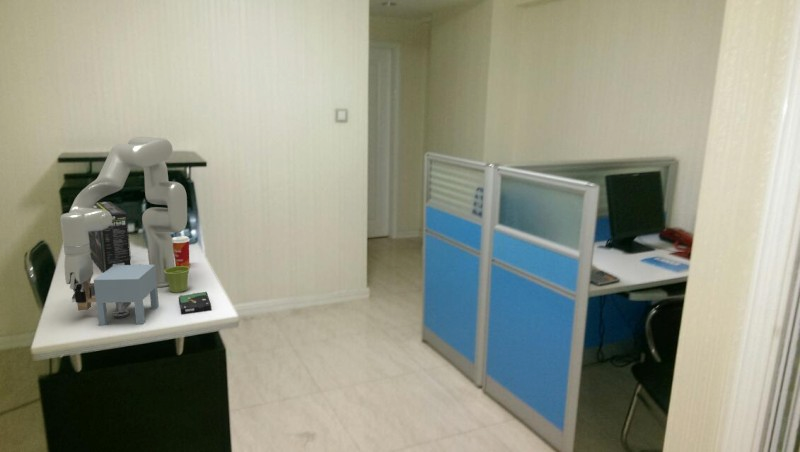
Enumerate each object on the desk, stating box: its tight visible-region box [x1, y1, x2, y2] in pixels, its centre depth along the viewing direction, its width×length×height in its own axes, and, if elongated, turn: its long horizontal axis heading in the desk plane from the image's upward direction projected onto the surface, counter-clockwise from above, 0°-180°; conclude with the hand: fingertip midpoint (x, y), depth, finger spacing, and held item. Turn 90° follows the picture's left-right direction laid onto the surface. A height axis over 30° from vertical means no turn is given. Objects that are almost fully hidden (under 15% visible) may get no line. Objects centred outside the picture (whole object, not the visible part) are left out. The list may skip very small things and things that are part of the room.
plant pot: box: [164, 266, 190, 294], centre depth 207 cm, size 9×9×9 cm
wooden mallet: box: [76, 280, 132, 312], centre depth 180 cm, size 8×15×10 cm, turn 96°
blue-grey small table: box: [93, 264, 160, 326], centre depth 181 cm, size 16×15×16 cm
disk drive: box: [178, 291, 212, 315], centre depth 193 cm, size 10×3×15 cm
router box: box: [88, 201, 132, 274], centre depth 236 cm, size 36×11×27 cm, turn 39°
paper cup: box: [172, 235, 191, 268], centre depth 234 cm, size 8×8×14 cm
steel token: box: [112, 308, 130, 319], centre depth 182 cm, size 5×5×2 cm
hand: (83, 299), depth 180 cm, fingers closed on wooden mallet, 3 cm apart
